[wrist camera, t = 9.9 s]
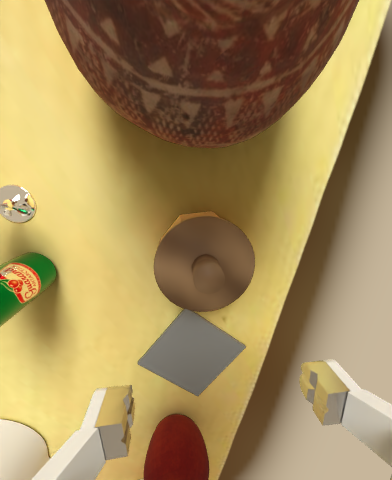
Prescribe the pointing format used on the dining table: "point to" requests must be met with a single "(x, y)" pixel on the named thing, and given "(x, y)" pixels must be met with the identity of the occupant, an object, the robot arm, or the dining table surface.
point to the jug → (201, 60)
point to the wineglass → (16, 203)
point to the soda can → (23, 282)
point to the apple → (176, 451)
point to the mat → (191, 352)
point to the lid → (204, 263)
